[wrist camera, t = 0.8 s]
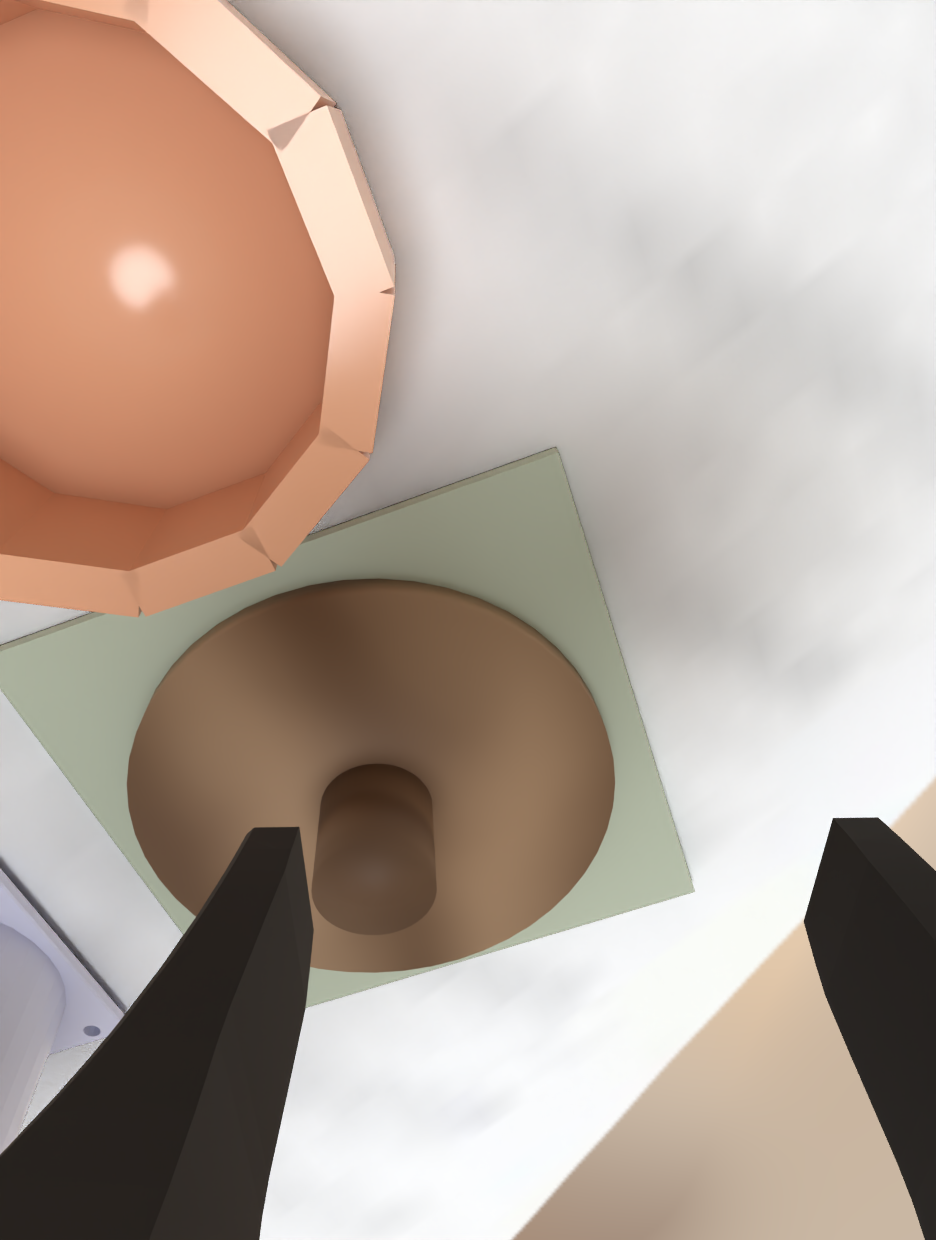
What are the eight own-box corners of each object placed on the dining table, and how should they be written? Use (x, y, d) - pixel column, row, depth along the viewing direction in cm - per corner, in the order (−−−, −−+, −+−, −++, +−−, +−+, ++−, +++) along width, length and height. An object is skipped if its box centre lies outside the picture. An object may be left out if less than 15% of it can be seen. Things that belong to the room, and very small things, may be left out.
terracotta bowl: (33, 591, 22) (-37, 681, 18) (-304, 94, 16) (-495, 84, 13) (460, 436, 20) (473, 500, 17) (246, -152, 15) (200, -236, 12)
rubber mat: (251, 1013, 29) (250, 1024, 29) (-16, 651, 22) (-22, 659, 22) (691, 882, 28) (694, 891, 27) (556, 447, 21) (558, 452, 20)
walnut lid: (265, 997, 28) (248, 1111, 25) (36, 679, 22) (-27, 776, 19) (656, 877, 27) (692, 982, 24) (529, 505, 21) (554, 576, 18)
